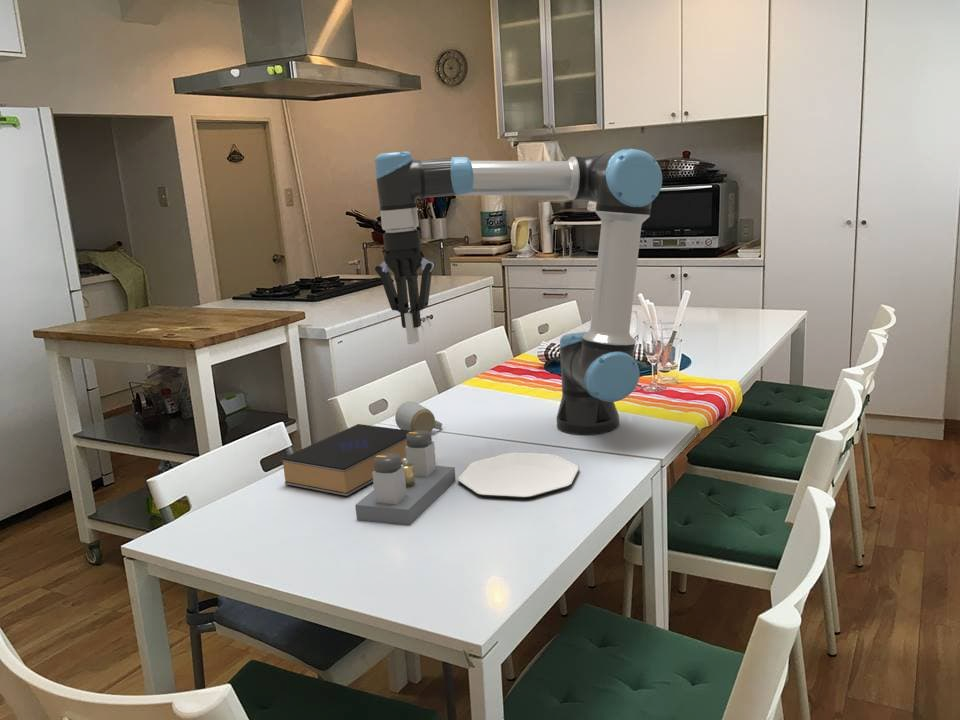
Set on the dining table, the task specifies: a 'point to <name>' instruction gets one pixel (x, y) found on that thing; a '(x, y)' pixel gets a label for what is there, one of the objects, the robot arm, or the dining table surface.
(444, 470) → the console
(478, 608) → the dining table surface
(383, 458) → the knob
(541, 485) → the plate
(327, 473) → the book
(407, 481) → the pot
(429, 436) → the knob
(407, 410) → the ceramic mug
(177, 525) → the dining table surface
